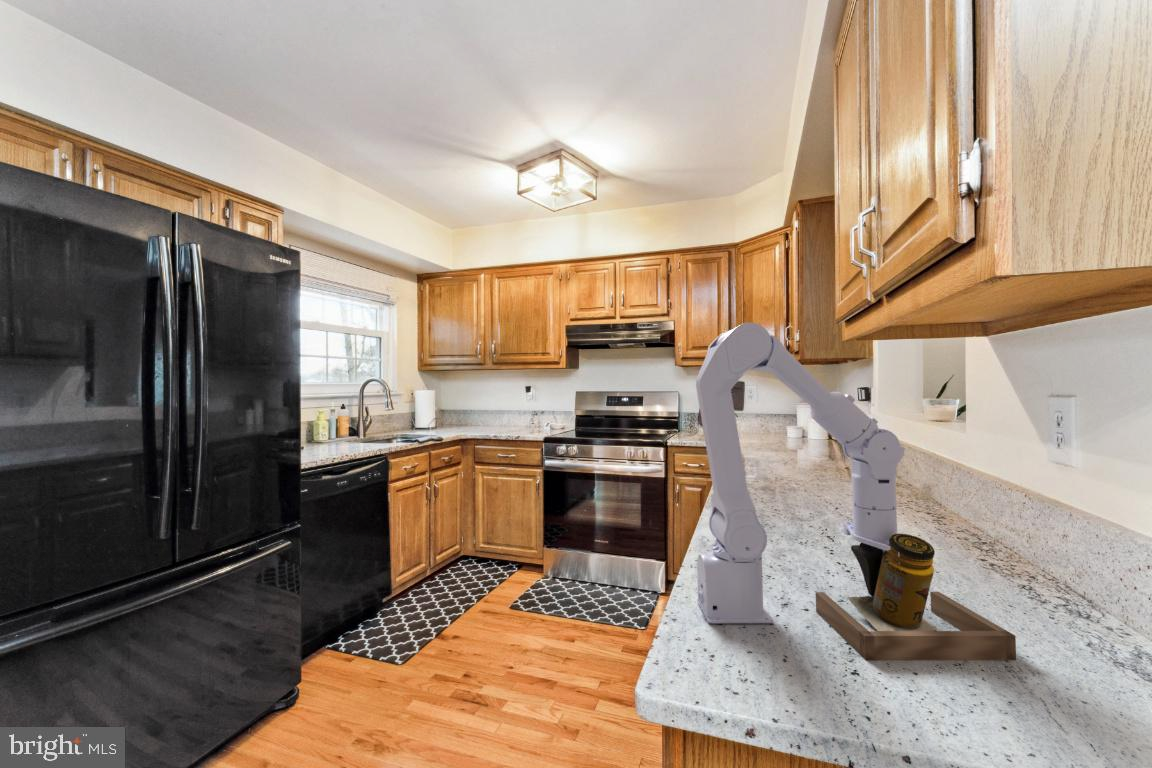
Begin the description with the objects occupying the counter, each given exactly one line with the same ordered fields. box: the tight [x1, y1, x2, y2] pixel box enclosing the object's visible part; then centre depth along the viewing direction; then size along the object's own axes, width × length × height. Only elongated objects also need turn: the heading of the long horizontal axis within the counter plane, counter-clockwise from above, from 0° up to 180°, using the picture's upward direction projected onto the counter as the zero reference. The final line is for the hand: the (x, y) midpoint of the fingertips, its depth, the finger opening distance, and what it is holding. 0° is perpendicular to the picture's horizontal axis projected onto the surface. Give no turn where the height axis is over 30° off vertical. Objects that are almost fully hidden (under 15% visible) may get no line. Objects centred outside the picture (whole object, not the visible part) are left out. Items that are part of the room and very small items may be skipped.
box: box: [815, 590, 1017, 661], centre depth 66 cm, size 18×13×3 cm
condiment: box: [847, 533, 938, 631], centre depth 68 cm, size 7×8×12 cm
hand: (877, 595), depth 73 cm, fingers closed
